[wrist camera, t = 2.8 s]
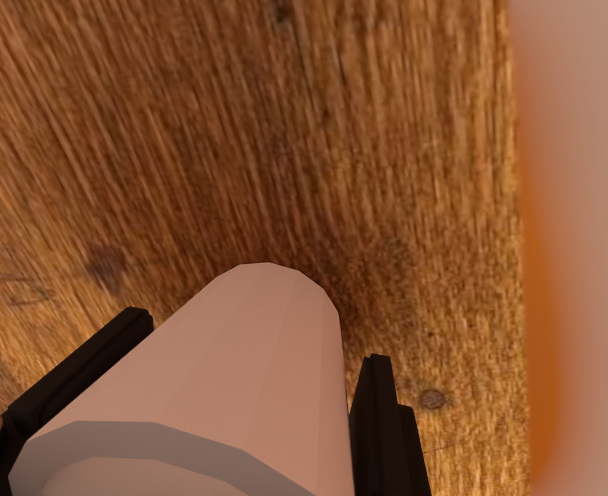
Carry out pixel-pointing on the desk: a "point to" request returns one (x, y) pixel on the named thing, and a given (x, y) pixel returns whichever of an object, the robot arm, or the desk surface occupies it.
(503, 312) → the desk surface
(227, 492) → the shot glass
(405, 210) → the desk surface
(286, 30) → the desk surface
